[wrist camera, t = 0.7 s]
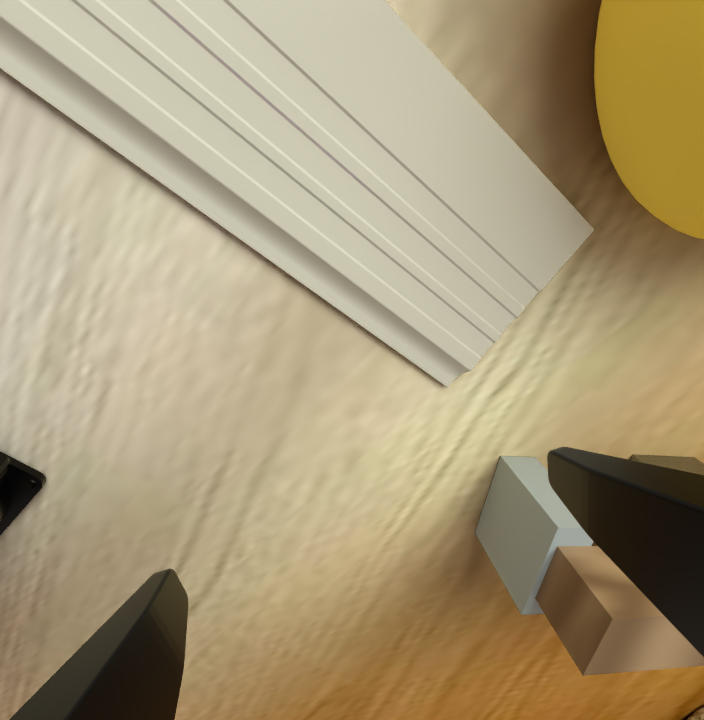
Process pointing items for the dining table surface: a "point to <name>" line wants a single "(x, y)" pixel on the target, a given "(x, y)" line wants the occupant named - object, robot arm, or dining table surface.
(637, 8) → the teapot
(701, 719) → the decorative item
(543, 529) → the light gray rectangular block
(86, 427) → the dining table surface
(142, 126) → the baseboard molding
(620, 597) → the batten
